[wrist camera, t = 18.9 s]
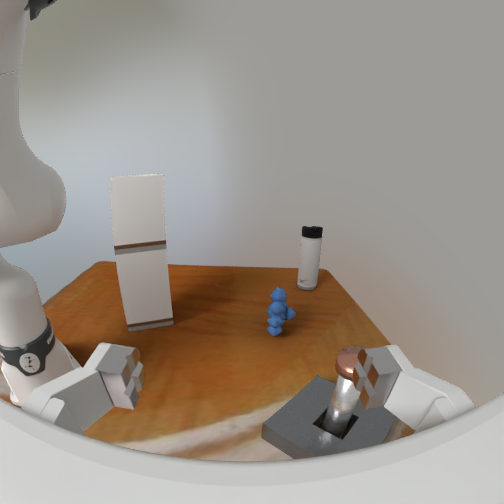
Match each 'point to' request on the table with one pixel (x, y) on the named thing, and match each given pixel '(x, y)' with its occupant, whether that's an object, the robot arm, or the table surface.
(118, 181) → the striped white pillar
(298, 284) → the travel mug
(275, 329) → the grapes
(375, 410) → the block
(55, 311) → the table surface
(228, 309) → the table surface
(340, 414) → the steel pin
